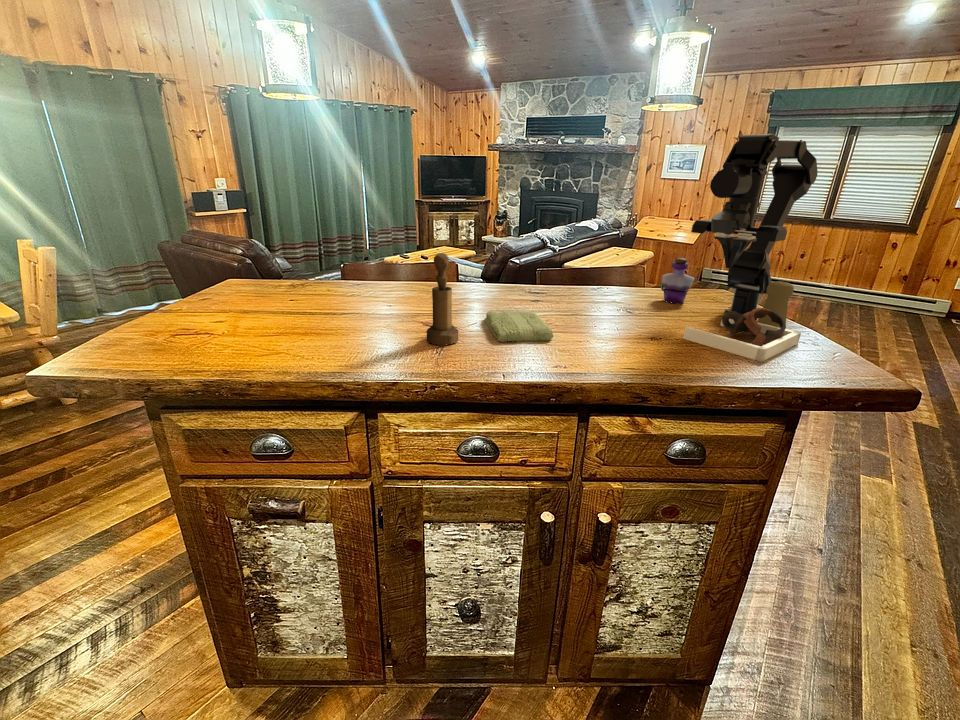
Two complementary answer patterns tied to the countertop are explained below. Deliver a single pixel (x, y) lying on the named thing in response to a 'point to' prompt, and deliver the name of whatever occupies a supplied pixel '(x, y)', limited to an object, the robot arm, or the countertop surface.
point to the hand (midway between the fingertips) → (728, 268)
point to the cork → (777, 301)
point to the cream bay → (741, 347)
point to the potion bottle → (676, 282)
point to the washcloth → (518, 326)
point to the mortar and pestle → (442, 307)
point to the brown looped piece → (754, 325)
